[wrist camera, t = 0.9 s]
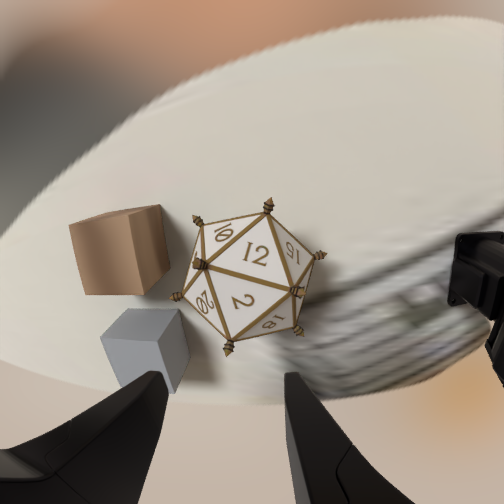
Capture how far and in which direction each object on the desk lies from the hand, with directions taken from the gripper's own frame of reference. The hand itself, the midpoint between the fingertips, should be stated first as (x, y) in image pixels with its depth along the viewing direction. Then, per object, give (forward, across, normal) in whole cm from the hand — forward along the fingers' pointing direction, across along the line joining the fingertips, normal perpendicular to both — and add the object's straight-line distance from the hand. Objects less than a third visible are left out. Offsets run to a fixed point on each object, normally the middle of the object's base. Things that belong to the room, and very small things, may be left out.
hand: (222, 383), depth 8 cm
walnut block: (+13, +9, -2) cm, 16 cm away
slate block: (+13, +9, +6) cm, 17 cm away
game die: (+13, 0, 0) cm, 13 cm away
